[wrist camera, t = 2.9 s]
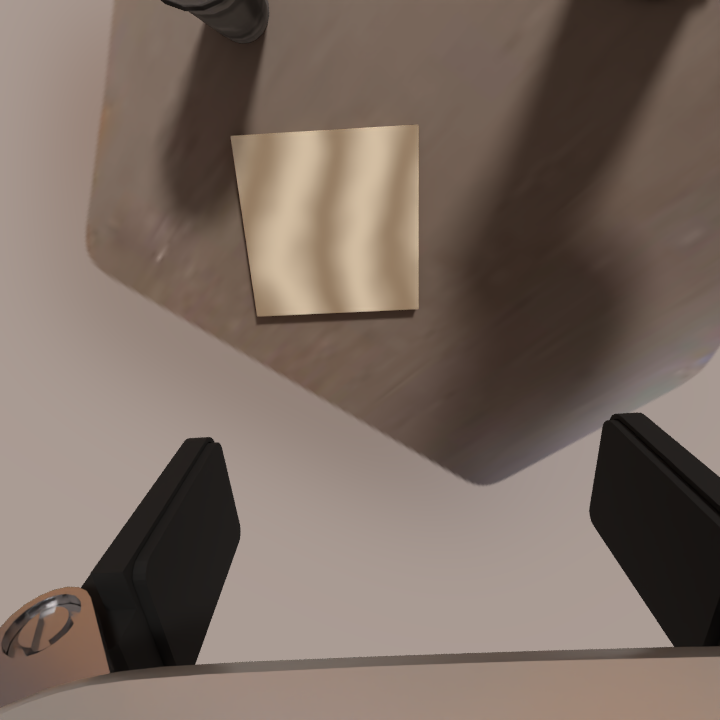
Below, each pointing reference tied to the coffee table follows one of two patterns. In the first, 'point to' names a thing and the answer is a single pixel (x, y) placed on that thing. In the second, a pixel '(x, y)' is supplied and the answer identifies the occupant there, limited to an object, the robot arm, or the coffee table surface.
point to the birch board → (331, 219)
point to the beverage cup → (229, 16)
